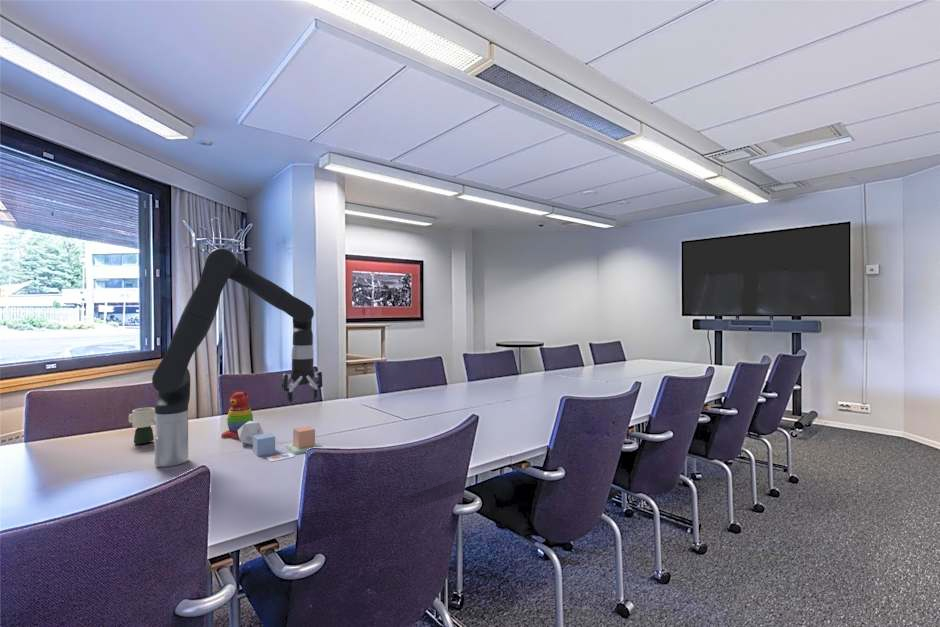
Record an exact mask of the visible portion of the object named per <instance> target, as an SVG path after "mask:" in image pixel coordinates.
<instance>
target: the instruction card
mask: <svg viewBox="0 0 940 627" xmlns="http://www.w3.org/2000/svg"><path fill="white" fill-rule="evenodd" d="M295 457H296V456H295V454H292V452H287V453H283V454H277V455H272V456H267V457H266V459H267V460H268V461H269V462H270V463H272V462H277V461H282V460H286V459H287V460H288V459H291V458H292V459H293V458H295Z"/></svg>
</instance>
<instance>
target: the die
mask: <svg viewBox="0 0 940 627" xmlns="http://www.w3.org/2000/svg"><path fill="white" fill-rule="evenodd" d="M237 431H238V435H239V439H238V440H239V441H241V443H242V444H245V445H251V446H253V436H254V435H260V434H264V430H263V428H262V425H261V424H260V422H259V421H254V420H253V421H248V422H247V423H245V424H244V425H243V426H242V427H241V428H240V429H238V430H237Z"/></svg>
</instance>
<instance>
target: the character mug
mask: <svg viewBox="0 0 940 627" xmlns="http://www.w3.org/2000/svg"><path fill="white" fill-rule="evenodd" d="M128 423H129V424H130V423H131V424H132V425H131V426H132V428H134V429H135V428H136V429H135V431H134V436H133V443H134V444H136V445H142V444H149V443H151V442H152V441H155V435H154V430H153V426H155V407H150V406H149V407H140V408H135V409H133V410H132V413H129V414H128Z"/></svg>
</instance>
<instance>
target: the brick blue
mask: <svg viewBox="0 0 940 627" xmlns="http://www.w3.org/2000/svg"><path fill="white" fill-rule="evenodd" d="M252 452H253V454H254V455H255V456H256V457H261V456H266V455H271V454H272V455H273V454H276V436H275V435H274V434H273V433H272V432H268V433H263V434H260V435H254V436H253V445H252Z"/></svg>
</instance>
